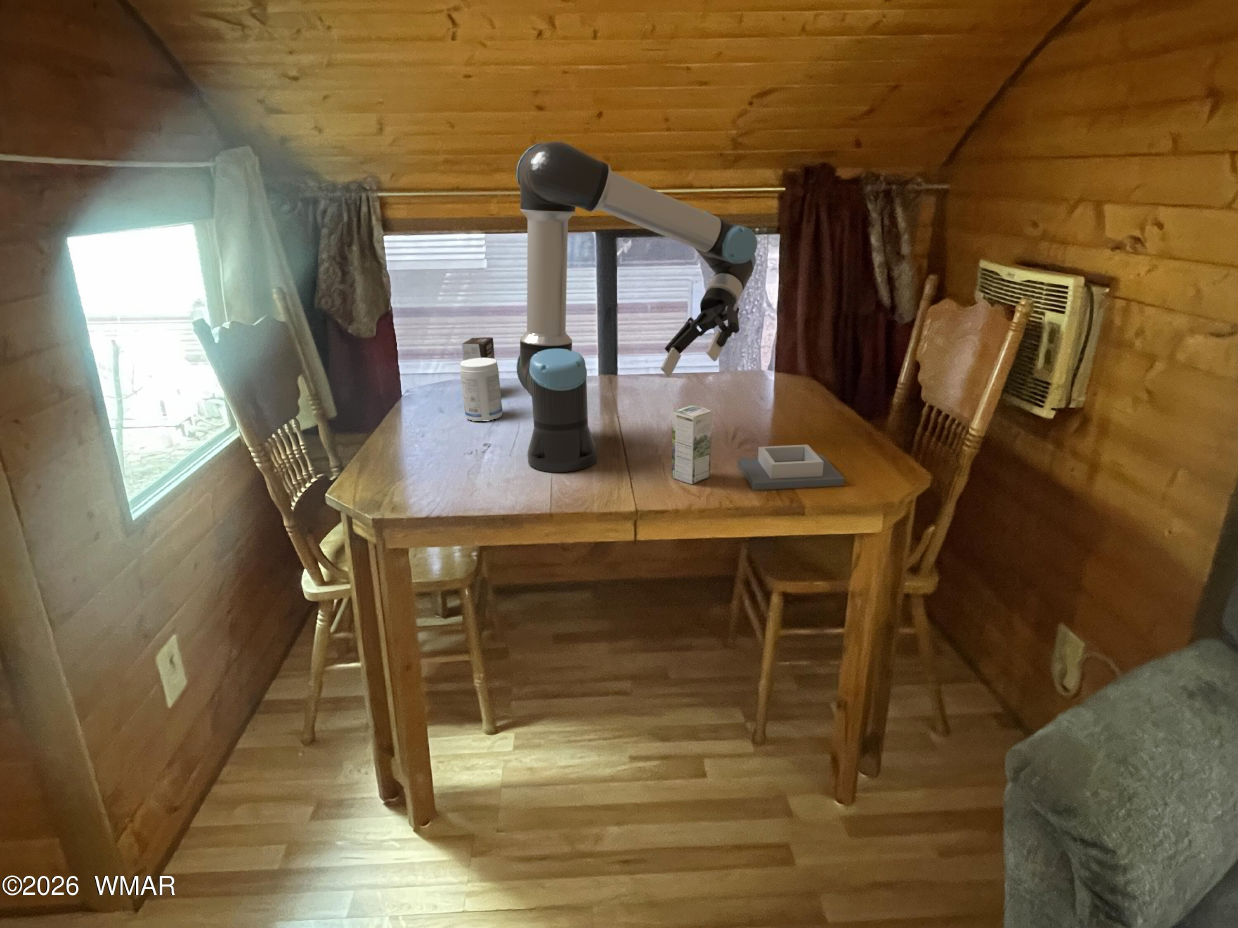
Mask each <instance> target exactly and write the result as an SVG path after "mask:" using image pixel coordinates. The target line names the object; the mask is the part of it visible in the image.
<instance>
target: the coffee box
mask: <svg viewBox="0 0 1238 928" xmlns="http://www.w3.org/2000/svg"><path fill="white" fill-rule="evenodd" d="M494 346H495V345H494V337H491V336H490V337H485V336H484V337H470V338H469V339H468V340H466V341H464V342H463V343H461V347H462V348H461V349H462V358H463V359H462V361H465V360H468V359H474V358H492V359H495V347H494ZM495 360H496V359H495Z"/></svg>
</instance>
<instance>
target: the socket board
mask: <svg viewBox="0 0 1238 928" xmlns="http://www.w3.org/2000/svg"><path fill="white" fill-rule="evenodd" d="M757 452H758V454H757V457H740V458H739V457H738V459H737V460H738V461H737V466H738V467H739V469H740V470H741V472H742V474H743V475H744V477H745V479H746V480H747V482H748V484H749V485H750V487H751V488H752V490H753V491H763V490H765V491H766V490H781V489H782V490H783V489H802V488H821V487H840V486H841V487H842V486H843V485H844V486H845V477H844V476H842V474H841V473H840V472H839V471H838V470H837V469H836V468H835V467H834V466H833V465H832V464H831V462H830V461H828V460H827V458H826V457H825V456H824V455H823V454H820V453H819V454H818V453H817V452H815V451H814V450H813V448H811V446H809V444H796V445H793V444H791V445H774V446H773V445H771V446H770V445H769V446H758V451H757Z"/></svg>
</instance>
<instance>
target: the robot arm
mask: <svg viewBox="0 0 1238 928" xmlns="http://www.w3.org/2000/svg"><path fill="white" fill-rule="evenodd" d="M516 180H517V184H518V187H519V189H520V191H519V192H520V194H519V195H520V196H519V197H520V199H519V200H520V202H519V203H520V206H519V207H520V209H519V211H520V212H521V213H522V214H523V215H524V216H525V218H526V219H527V237H526V238H527V241H526V242H527V247H526V248H527V249H526V250H527V253H526V254H527V256H526V258H527V260H526V261H527V266H526V271H527V272H526V273H527V274H526V275H527V276H526V279H527V280H526V282H527V283H526V291H527V293H526V295H527V296H526V297H527V298H526V300H527V301H526V332H525V333H524V334H522V336H521V337H520V338H519V354H518V357H517V361H516V374H517V378H518V380H519V383H520V384H521V386H522V387H523V388H524V389H525V390H526V392H528V394H529V396H531V404H532V419H533V431H532V434H531V437H530V438H531V439H530V441H529V445H528V450H527V463H528V465H529V466H530V467H531V466H532V468H533V469H535V468H536V470H539V471H542V472H548V473H549V472H550V473H565V472H566V473H567V472H568V471H569V472H575V471H580V470H584V469H587V468H589V467H592V466H593V465H594V464H596V463H597V461H598V449H597V446H596V443H595V441H594V440H595V439H594V438H593V435H592V432H591V430H590V427H589V418H588V413H589V411H588V388H587V385H588V384H587V376H588V370H587V367H586V365H587V364H586V360H585V358H584V356H583V355H582V354H580V353H579V352H577V351H575V350H573V339H572V338H571V337H570V336H569V334H567V330H566V329H567V328H566V326H567V325H566V324H567V279H568V277H567V275H568V238H569V237H568V233H569V232H568V231H569V229H568V228H569V227H568V226H569V220H570V219H571V218H572V217H573V216H574V215H575V214H576V208H580V209H581V210H585V211H588V212H590V213H594V212H596V211H598V210H599V211H601V212H604V213H606V214H609V215H611V216H614V217H616V218H619V219H621V220H624V221H626V222H629V223H631V224H634V225H636V226H639V227H641V228H644V229H647V230H649V231H651V232H653V233H656V234H658V235H661V236H662V237H663V236H664V237H667V238H668V239H672V240H674V241H676V242H678V243H682V244H684V245H686V246H689V247H691V248H694V249H695V251H696V252H697V253H698V255H700V256H701V258H702V260H704V262H705V263H706V264H707V265H708V267H709V268H710V269H711V270H712V271H713V273H714V274H713V278H712V279H711V281H710V283H709V285H708V287H707V288H706V291H705V293H704V294H703V297H702V298H701V301H700V304H699V308H700V313H699V314H698V315H697V317H696V318H695V319H694V318H693V317H692V316H691V317H689V318H688V319H687V320H686V322H685V324H684V325H683V326H682V327H681V328H680V330H678V332H677V333H676V334H675V335H674V336H673V337H672V339H671V340H670V341H669V342H668V343H667V344H666V346H665V347H664V350H665V351H666V352H667V353H668V354H667V355H666V358H665V359H664V362H663V363H662V366H661V367H660V370H661V371H662V372H663V373H664V374H665V375H666V376H667V378H669V377H671V376H672V374H673V372H674V370H675V368H676V367H677V365H678V363H679V361H680V359H681V357H682V355H681V354H682V352H683V351H685V350H686V349H687V348H688V347H689V346H690V345H691V344H692V343H693V342H694V341H695V340H696V339H697V338H698V337H702V336H703V335H705V334H706V332H707V331H710V330H713V329H715V328H716V327H717V326H718V328H719V330H716V331H715V334H714V336H713V338H712V339H711V341H710V343H709V346H708V348H707V350H706V351H705V352H706V353H705V354H707V356H709V358H710V359H711V360H712V361H713V362H716V361H717V360H718V359H719V356H720V354H721V352H722V350H723V349H724V346H726V344H727V341H728V339H730V338H731V337H732V335H733V334H738V333H739V331H740V323H739V312H740V308H739V306H738V305H737V304H738V302H739V299H740V297H741V296H742V294H743V292H744V290H745V288H746V286H747V284H748V282H749V280H750V278H751V277H752V275H753V273H754V269H755V267H756V263H757V257H756V254H755V253H756V251H757V248H758V239H757V236H756V234H755V233H754V231H753V230H751V229H750V228H749V227H746V226H744V225H742V224H740V225H737V224H735V223H732V222H730V221H728V220H725V219H724V218H723V219H722V218H720V217H718V216H716V215H714V214H712V213H711V212H710V211H708V210H703V209H700V208H698V207H695V206H692V205H691V204H687V203H685V202H683V201H681V200H678V199H676V198H674V197H671V196H669V195H667V194H664V193H662V192H660V191H658V190H655V189H652V188H650V187H649V186H646V185H644V184H641V183H639V182H636V181H634V180H632V179H629V178H627V177H625V176H622V175H620V174H618V173H616V172H613V171H612V168H611V166H610V165H609V164H608V163H606V162H604V161H601V160H599V159H597V158H596V157H593V156H591V154H590V155H589V154H587V153H586V152H584V151H582V150H580V149H579V148H577V147H575V146H573V145H571V144H569V143H567V142H562V141H550V142H539V143H536V144H534V145H532V146H530V147H528V149H527V150H526V151H524V153H523V154H522V156H521V157H520V159H519V161H518V163H517V166H516ZM726 321H727V324H726V323H725V322H726ZM698 327H699V329H700V330H699V329H698ZM569 472H568V473H569Z"/></svg>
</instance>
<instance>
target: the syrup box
mask: <svg viewBox="0 0 1238 928" xmlns="http://www.w3.org/2000/svg"><path fill="white" fill-rule="evenodd" d="M671 417H672V424H671V425H672V427H671V428H672V429H671V432H672V433H671V435H672V436H671V479H673V480H677V481H681V482H683V483H687V484H690V485H695V484H697V483H699V482H702V481H704V480H707V479H708V478H710V477H711V462H712V461H711V459H712V458H711V456H712V455H711V454H712V434H713V433H712V431H713V430H712V429H713V428H712V427H713V424H712V423H713V411H712V410H711V409H707V408H705V407H702V406H698V405H688V406H685V407H682V408H680V409H676V410H673V411H672V416H671Z"/></svg>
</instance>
